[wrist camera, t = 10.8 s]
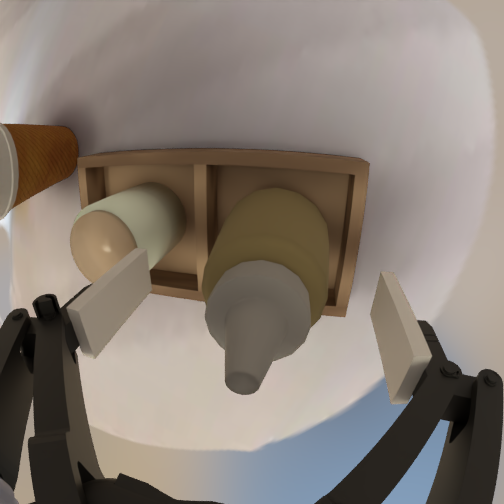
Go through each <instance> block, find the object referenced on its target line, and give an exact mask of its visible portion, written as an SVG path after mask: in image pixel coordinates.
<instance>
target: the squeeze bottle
mask: <svg viewBox="0 0 504 504" xmlns="http://www.w3.org/2000/svg"><path fill="white" fill-rule="evenodd" d="M328 281H329V237H328V228H327V223H326V222H325V220H324V218H323V216H322V215H321V213H320V211H319V210H318V208H317V206H316V205H314V204H313V203H312V202H310V201H309V200H308V199H306V198H305V197H304V196H302V195H301V194H300V193H297V192H293V191H289V190H285V189H281V188H271V189H264V190H258V191H254V192H253V193H251V194H250V195H248V196H246V197H245V198H243V199H242V200H240V201H238V202H237V203H236V205H235V206H234V208H233V209H232V211H231V212H230V214H229V215H228V217H227V218H226V220H225V222H224V224H223V226H222V229H221V231H220V233H219V235H218V238H217V240H216V242H215V244H214V247H213V249H212V251H211V254H210V256H209V258H208V260H207V263H206V265H205V268H204V274H203V281H202V288H201V289H202V293H203V296H204V300H205V303H206V312H205V319H206V323H207V326H208V329H209V332H210V334H211V335H212V337H213V338H214V339H215V340H216V342H217V343H218V344H219V345H220V346H221V347H222V348H223V349H225V383H226V386H227V387H228V388H229V389H230V390H231V391H233V392H235V393H238V394H242V395H249V394H252V393H255V392H256V391H257V390H258V389H259V387H260V385H261V383H262V381H263V379H264V377H265V375H266V373H267V371H268V369H269V367H270V366H271V364H272V362H273V361H276V360H278V359H281V358H283V357H286V356H288V355H291V354H293V353H294V352H295V351H296V350H297V349H298V348H299V347H300V346H301V345H302V344H303V343H304V342H305V340H306V338H307V335H308V333H309V330H310V328H311V327H312V326H313V325H314V324H315V323H316V322H317V321H318V320H319V319H320V317H321V315H322V312H323V310H324V307H325V304H326V302H327V299H328Z"/></svg>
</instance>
